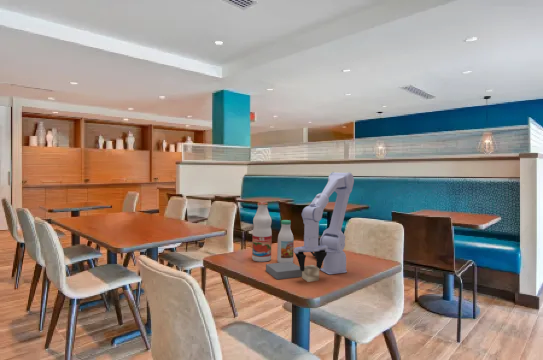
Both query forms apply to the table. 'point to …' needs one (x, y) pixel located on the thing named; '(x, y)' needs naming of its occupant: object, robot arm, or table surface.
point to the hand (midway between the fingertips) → (310, 269)
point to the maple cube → (310, 273)
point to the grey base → (283, 270)
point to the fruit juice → (262, 234)
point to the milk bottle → (285, 243)
